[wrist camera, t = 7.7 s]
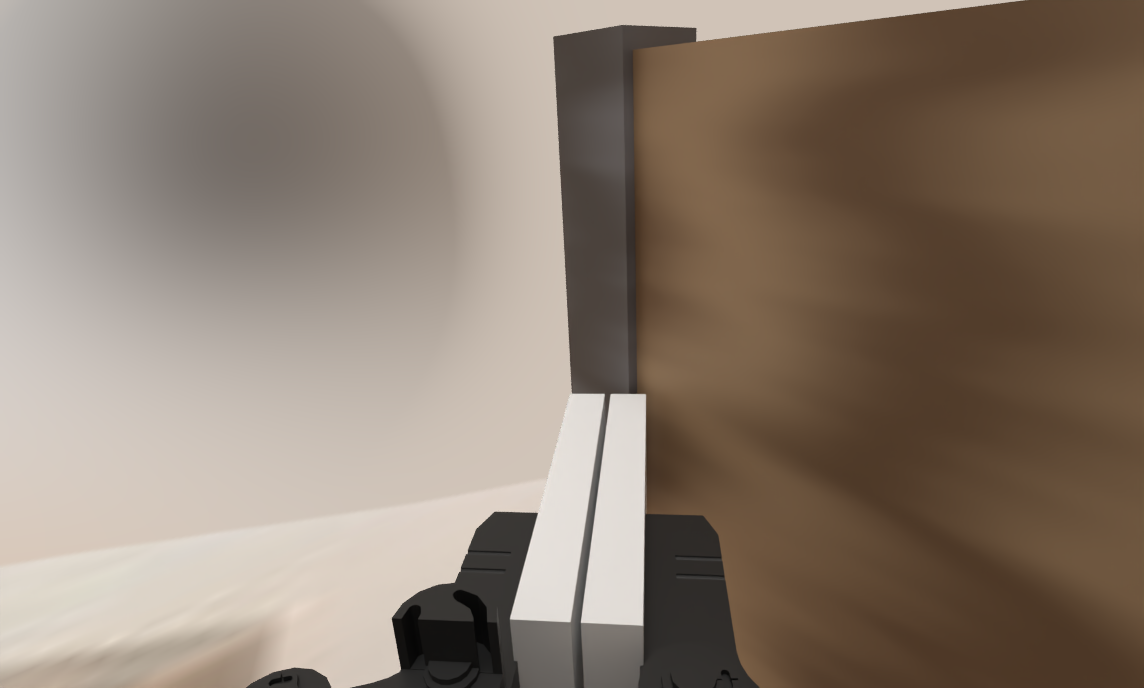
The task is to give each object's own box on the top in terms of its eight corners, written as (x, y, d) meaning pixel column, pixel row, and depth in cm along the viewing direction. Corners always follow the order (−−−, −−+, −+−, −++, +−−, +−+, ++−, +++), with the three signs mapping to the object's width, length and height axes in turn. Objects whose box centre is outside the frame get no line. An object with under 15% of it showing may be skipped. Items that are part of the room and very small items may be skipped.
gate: (1346, 1078, 9) (2232, -196, 4) (1334, 1231, 8) (2569, -303, 3) (634, 572, 19) (625, 37, 14) (582, 605, 18) (553, 36, 13)
